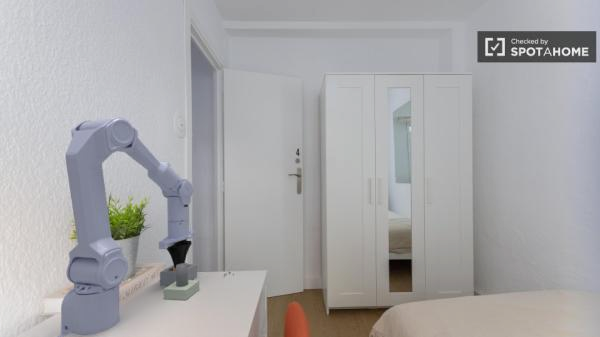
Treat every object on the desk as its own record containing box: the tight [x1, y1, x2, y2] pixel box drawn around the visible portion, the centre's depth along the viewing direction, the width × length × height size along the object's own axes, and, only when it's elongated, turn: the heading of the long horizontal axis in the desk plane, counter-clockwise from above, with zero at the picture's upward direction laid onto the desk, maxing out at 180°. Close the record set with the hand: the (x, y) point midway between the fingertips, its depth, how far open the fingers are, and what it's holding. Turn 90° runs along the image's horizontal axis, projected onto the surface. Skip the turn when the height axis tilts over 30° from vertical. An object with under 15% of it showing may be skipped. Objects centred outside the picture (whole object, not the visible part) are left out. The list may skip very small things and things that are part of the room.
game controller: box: [221, 270, 235, 279], centre depth 80 cm, size 6×12×3 cm, turn 101°
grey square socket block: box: [159, 263, 198, 287], centre depth 77 cm, size 7×7×5 cm
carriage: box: [163, 262, 200, 301], centre depth 68 cm, size 6×6×7 cm
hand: (179, 267), depth 77 cm, fingers closed, pressing on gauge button
